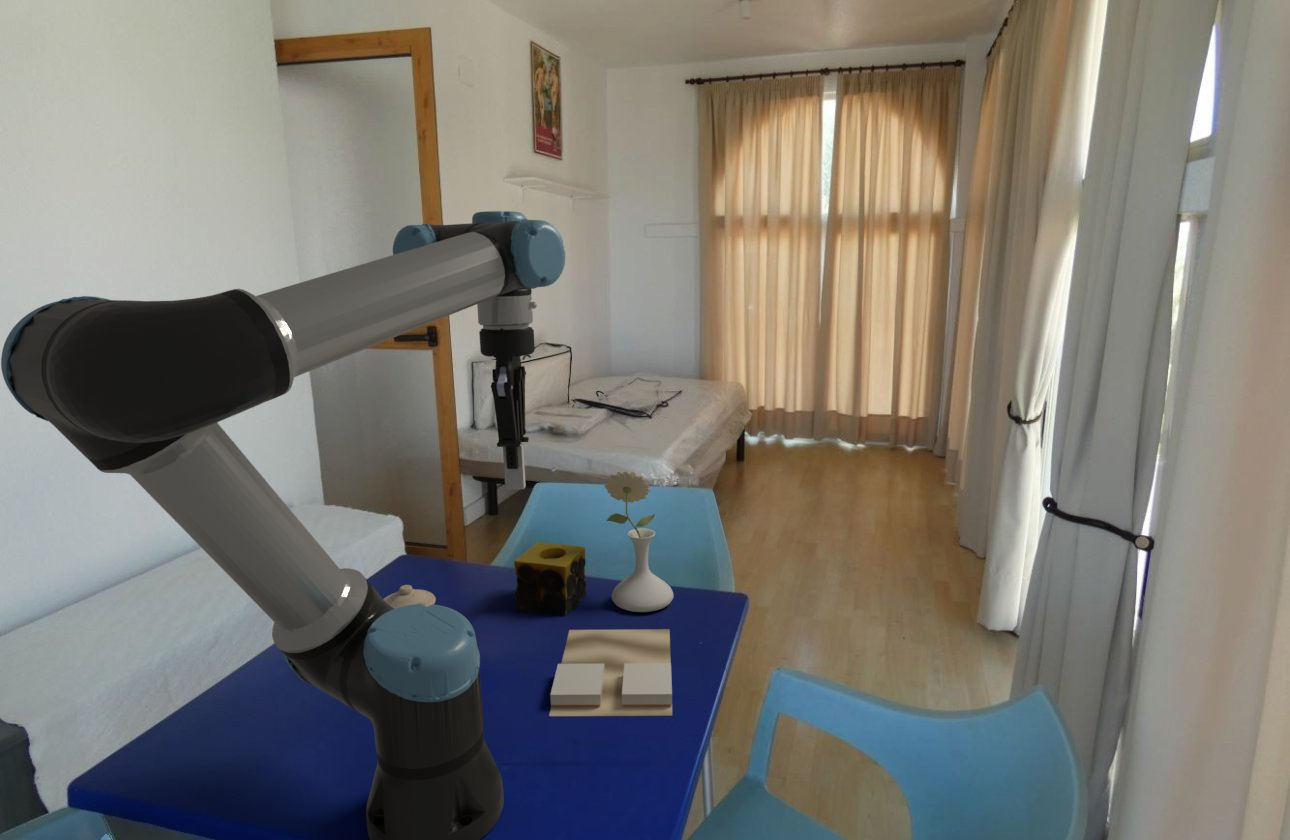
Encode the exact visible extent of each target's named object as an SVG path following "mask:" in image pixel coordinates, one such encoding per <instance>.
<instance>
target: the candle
mask: <svg viewBox="0 0 1290 840" xmlns="http://www.w3.org/2000/svg"><path fill="white" fill-rule="evenodd" d="M586 561H587V560H586V547H585V546H580V545H569V544H560V543H548V542H541V541H537V542H535V543H534V544H533V545H532V546H531V547H529V548H528V550H526V551H525V552H524V553H522V554H521V555H519V556H518V557H517V558H516V559H514V561H513V562H514V563H513V565H514V570H515V571H514V572H515V576H516V588H515V593H514V594H515V612H528V613H539V614H552V615H559V616H564V617H567V616H568V615H569V614H570V612H573V611H574V610H575V609H576V608H578V606H579V604H580V603H581V602H582V600H583V599H584V598H586V597H587V590H586V589H587V581H586V568H585V567H586V563H587V562H586Z"/></svg>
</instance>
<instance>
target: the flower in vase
mask: <svg viewBox="0 0 1290 840" xmlns="http://www.w3.org/2000/svg"><path fill="white" fill-rule="evenodd" d="M647 482H648V481H647V479H645V478H644V476H642V475H639V476H638V475H637V473H636V472H634V471H632V472H630V473H629V472H628V471H626V470H625V471H623V472H621V471H618V472H616V474H611V475H610V476H609V477H608V478H607V481H606V483H605V485H604V488H605V490H607V491H606V492H607V493H608V494H610V497H611V498H614V499H615V500H616V501H621V500H622V501H623V502H624V503H625V515H624V514H620V513H617V512H616V513H613V514H611V515H610V516H609V517H608V518H607V519H606V521H607V522H613V523H617V524H621V525H623V524H625V523H626V522H627V521H629V523H630V524H631V526H632V527H633V529H631V530H629V531H628V532H627V536H628V538H629V539H630V540H631V541H632V544H633V547H634V553H635V567H634V570H633V572H632V573H631V574H630V575H629V576H627V577H625V578H624V579H622V580H621V581H620V582H619V583H618V584H617V585H616V586H615V587H614V589H613V590H612V593H611V600H612V601H613V603H614V604H615V605H616V606H617V607H618V608H619V609H622V610H624V611H628V612H632V613H633V612H635V613H648V612H655V611H659V610H661V609H665V607H667V606H669V604H670V603H671V602H672V601H673V599H674V591H673V589H672V588H671V586H670V585H669V584H667V582H665V581H664V580H663V579H661V578H660V577H658V576H657V575H655V574H654V573H653V572H652V571H651V570H650V567H649V549H650V543H651V541H652V539H653V538H654V536H655V535H656V531H655V530H653V529H650V528H646V527H645V526H646V525H648V524H649V523H651V521H652V520H653V519H654V518H655V516H656V513H654V514H652V515H647V516H644V517H642V518H640V520H639V521H638V522H637V523H636V525H635V524H634V522H633V521H632V519H631V517H630V516H629V512H628V511H629V509H628V508H629V507H628V505H629V504H628V503H631V504H632V503H634V502H639V501H641V500H646V499H647V496H648V495H649V492H651V489H650V485H649V484H648V483H647ZM639 527H640V528H639ZM644 527H645V528H644Z"/></svg>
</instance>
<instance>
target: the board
mask: <svg viewBox="0 0 1290 840" xmlns="http://www.w3.org/2000/svg"><path fill="white" fill-rule="evenodd" d="M670 630H671V629H669V628H661V629H660V628H659V629H658V628H657V629H656V628H654V629H653V628H652V629H651V628H650V629H649V628H646V629H644V628H643V629H641V628H640V629H638V628H636V629H569V630H568V634H567V638H566V642H565V643H566V644H565V647H564V651H563V655H562V659H561V663H560V664H604V666H605V675H604V683H603V691H602V699H601V705H600V707H552V705H551V704H550V711H549V714H548V716H549V717H667V716H668V717H672V716H673V703H672V704H671V706H661V707H623V705H622V686H623V674H624V663H671V661H672V660H671V634H670ZM671 664H672V663H671Z"/></svg>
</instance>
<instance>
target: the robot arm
mask: <svg viewBox="0 0 1290 840" xmlns="http://www.w3.org/2000/svg"><path fill="white" fill-rule="evenodd" d="M393 240H394V241H393V245H392V254H391V255H388V256H386V257H382V258H378V259H375V260H372V261H369V262H365V263H362V264H359V265H355V266H352V267H348V268H345V269H342V270H341V269H340V270H338V271H335V272H332V273H328V274H325V275H321V276H318V277H315V278H310V279H308V280H305V281H302V282H299V283H295V284H291V285H289V286H285V287H281V288H278V289H275V290H272V291H268V292H265V293H262V294H258V295H255V294H253V293H251V292H249V291H247V290H244V289H242V288H234V289H233V288H232V289H230V290H226V291H222V292H219V293H216V294H212V295H208V296H200V297H195V298H187V299H186V298H185V299H178V300H177V299H176V300H116V299H114V300H113V299H108V298H105V297H99V296H93V295H92V296H91V295H89V296H88V295H87V296H86V295H85V296H83V295H82V296H73V297H69V298H62V299H60V300H56V301H53V302H50V303H46V304H44V305H42V306H39V307H38V308H36V309H34V310H32V311H30V312H29V313H28V314H26V315H25V316H23V317H22V318H21V319H20V320H19V321H18V322H17V323H16V324H15V325H14V326H13V328H12V329H11V330H10V331H9V334H8V335H7V337H6V339H5V341H4V344H3V347H2V350H1V358H0V359H1V360H0V368H1V373H2V377H3V380H4V382H5V385H6V386H7V389H8V390H9V392H10V393H11V395H12V396H13V398H14V400H16V401H17V403H18V404H19V405H20V406H21V407H22V408H23V409H24V410H26V412H28V413H30V414H31V415H35V417H36V418H39V419H41V420H44V421H46V422H49V423H50V424H51V425H52V426H53V427H54V428H55V429H56V430H58V432H59V433H60V434H62V435H63V436H64V438H65V439H66V440H67V441H69V442H70V443H71V444H72V445H73V446H74V447H75V448H76V449H77V450H78V451H79V452H80V453H81V454H82V455H83V456H84V457H85V458H86V459H87V460H88V461H89V462H90V463H92V465H93V466H94V467H95V468H96V469H97V470H98V471H99V472H101V473H105V474H126V475H127V474H128V475H129V476H130V477H132V478H133V479H134V480H135V482H136V483H138V484H139V486H140V487H142V489H143V490H145V492H146V493H147V494H149V496H150V497H152V499H153V500H154V501H155V502H156V503H157V504H158V505H160V507H161V508H162V509H163V511H165V512H166V513H167V514H168V515H169V516H170V517H171V518H172V519H173V520H174V521H175V523H177V525H179V526H180V527H181V529H183V530H184V531H185V533H186V534H187V535H188V536H190V538H191V539H192V540H193V541H194V542H196V544H198V546H199V547H200V548H201V549H202V550H203V551H204V552H205V553H206V554H207V555H208V556H209V557H210V558H211V559H212V560H213V561H214V562H215V563H216V564H217V565H218V566H219V567H220V569H222V570H223V571H224V572H225V573H226V575H228V576H229V577H230V578H231V579H232V580H233V582H234V583H236V585H238V586H239V588H240V589H242V591H244V592H245V594H246V595H247V596H248V597H250V599H251V600H252V601H253V602H254V603H255V604H256V605H257V606H258V607H259V609H261V610H262V611H263V612H264V613H265V614H266V615H267V616H268V617H269V618H270V619H271V620H272V621H273V626H272V631H271V635H272V637H271V638H272V640H273V643H274V645H275V646H276V647H277V649H279V650H280V651H281V653H282V655H283V658H284V660H285V662H286V664H287V665H288V667H289V668H290V670H292V672H293V673H294V674H295V675H296V677H298V678H299V679H300V680H301V681H303V682H304V683H306V684H307V685H309V686H311V687H313V688H316V689H319V690H320V691H322V692H323V693H325V694H327V695H329V696H330V697H332V698H334V699H335V700H338V701H340V703H342V704H343V705H346V706H348V707H349V708H350V709H352V710H353V711H356V712H357V713H359V715H360V714H361V715H363V716H364V717H365V718H368V719H369V720H370V721H371V723H372V726H373V734H374V743H375V752H376V759H377V763H376V768H375V771H374V775H373V780H372V783H371V786H370V792H369V795H368V798H367V803H366V810H365V818H366V827H367V834H368V838H369V840H482V839H483V838H484V837H485V836H486V835H487V834H489V832H490V831H491V830H492V829H493V827H494V826H495V825H496V823H497V822H498V820H499V819H500V817H501V814H502V811H503V809H504V799H505V798H504V786H503V779H502V776H501V775H502V774H501V772H500V770H499V767H498V766H497V764H496V762H495V760H494V758H493V755H492V753H491V751H490V749H489V747H488V745H487V743H486V741H485V737H484V721H483V720H484V719H483V718H484V717H483V701H482V700H483V699H482V698H483V697H482V683H481V680H482V679H481V655H480V651H479V647H478V643H477V642H478V641H477V637H476V632H475V629H474V627H473V625H472V624H471V622H470V621H469V620H468V619H467V617H465V616H464V615H463V614H461V613H460V612H459V611H457V610H455V609H453V608H450V607H447V606H444V605H439V604H436V605H434V604H432V605H431V606H428V607H426V606H424V605H423V604H414V605H407V606H402V607H399V608H396V609H395V608H393V607H391V606H390V605H389V604H387V603H386V602H385V601H384V600H383V599H384V598H382V597H383V596H381V595H380V594H379V592H378V591H377V590H376V589H375V588H374V586H373V585H372V584H371V583H370V582H369V580H368V579H367V578H366V577H365V576H364V575H363V573H362V572H360V571H359V570H357V569H354V568H349V567H348V568H340V567H339V566H338V565H337V564H336V562H335V561H334V560H333V559H332V558H331V557H330V555H329V554H328V553H327V552H326V550H325V549H324V548H323V547H322V545H320V544H319V542H318V541H317V540H316V539H315V537H314V536H313V535H312V534H311V533H310V532H309V531H308V529H307V528H306V527H305V526H304V525H303V523H302V522H301V521H300V520H299V518H298V517H297V516H296V515H295V513H294V512H293V511H292V510H291V509H290V508H289V506H288V505H287V504H286V503H285V502H284V500H283V499H282V498H281V497H280V496H279V495H278V493H277V492H276V490H274V489H273V488H272V486H271V485H270V484H269V483H268V481H267V480H266V479H265V478H264V477H263V475H262V474H261V472H259V470H257V469H256V467H255V466H254V464H253V463H251V461H250V460H249V459H248V457H247V456H246V455H245V454H244V453H243V452H242V450H241V449H240V448H239V446H238V445H236V443H235V442H234V441H233V440H232V438H231V437H230V436H229V435H228V434H227V432H226V431H225V430H224V429H223V427H221V425H220V424H219V423H220V422H221V421H224V420H227V419H229V418H232V417H233V416H236V415H239V414H240V413H244V412H245V411H248V410H250V409H253V408H255V407H257V406H259V405H262V404H264V403H267V402H269V401H271V400H274V399H276V398H278V397H281V396H283V395H285V394H287V393H288V392H289V391H290V390H291V388H292V387H293V383H294V380H295V378H296V377H298V376H301V375H303V374H305V373H308V372H311V371H313V370H316V369H318V368H321V367H323V366H326V365H328V364H331V363H333V362H336V361H339V360H341V359H344V358H346V357H348V356H350V355H353V354H356V353H359V352H361V351H363V350H366V349H369V348H370V347H371V348H372V347H373V346H376V345H379V344H382V343H383V342H387V341H388V340H391V339H393V338H396V337H398V336H401V335H404V334H406V333H409V332H411V331H413V330H416V329H418V328H421V327H423V326H426V325H428V324H431V323H433V322H437V321H438V320H442V319H443V318H446V317H448V316H451V315H453V314H456V313H458V312H461V311H463V310H467V309H468V308H471V307H473V306H476V305H477V321H478V322H477V323H478V324H479V325H480V326H482V328H481V329H480V330H479V332H478V333H479V334H478V335H479V348H480V349H479V351H480V353H481V355H483V356H484V357H488V358H489V357H492V358H494V359H495V368H493V369H492V382H490V383H491V384H490V388H491V393H492V397H493V403H494V404H493V405H494V410H495V411H494V412H495V418H496V419H495V420H496V426H497V427H496V428H497V437H498V441H497V442H496V447H497V448H502V453H503V454H502V455H503V473H504V489H505V490H525V488H526V487H527V486H526V485H527V483H526V467H525V451H524V443H529V438H530V437H528V436H525V435H526V433H527V429H526V375H527V371H526V368H525V366H523V365H522V360H521V357H523V356H529V355H532V354H534V352H535V350H536V349H535V348H536V347H535V331H534V329H533V327H532V326H529V325H530V324H532V323H533V322H534V317H533V309H536V308H537V307H538V305H537V303H536V302H535V301H532V300H533V298H532V294H533V293H532V291H533V290H534V289H536V288H537V289H538V288H543V287H544V288H545V287H549V286H551V285H553V284H555V283H556V282H557V281H558V280H559V278H560V277H561V276H562V273H563V271H564V268H565V264H566V251H565V245H564V239H563V237H562V235H561V234H560V232H559V231H558V229H557V228H556V227H555V226H554V225H553V224H552V223H549V222H548V221H546V220H541V219H528V218H527V217H526V215H524V214H523V213H522V212H519V211H508V210H507V211H502V210H495V211H494V210H493V211H491V210H489V211H487V210H486V211H478V212H475V213H474V214H473V215H472V219H471V223H454V224H430V223H422V224H409V225H408V224H407V225H405V226H404V227H402V228H401V229H400V230H398V232H397V234H396V236H395V238H394V239H393ZM532 289H533V290H532Z"/></svg>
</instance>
